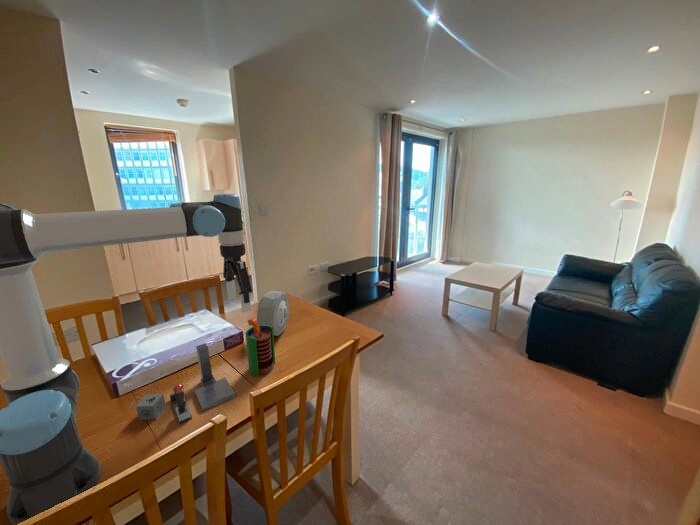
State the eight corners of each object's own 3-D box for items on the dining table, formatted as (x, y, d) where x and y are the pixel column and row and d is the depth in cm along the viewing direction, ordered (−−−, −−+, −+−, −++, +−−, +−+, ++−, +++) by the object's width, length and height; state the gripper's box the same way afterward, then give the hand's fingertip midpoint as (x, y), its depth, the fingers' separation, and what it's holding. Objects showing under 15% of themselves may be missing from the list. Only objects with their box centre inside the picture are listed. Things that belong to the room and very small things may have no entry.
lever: (179, 421, 86) (173, 390, 83) (176, 413, 89) (170, 383, 86) (190, 416, 88) (185, 385, 85) (187, 409, 91) (182, 378, 88)
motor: (266, 378, 106) (261, 328, 101) (243, 375, 108) (238, 325, 102) (278, 361, 116) (274, 315, 110) (257, 358, 117) (252, 313, 112)
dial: (280, 345, 127) (276, 302, 121) (254, 343, 129) (250, 300, 123) (295, 323, 146) (293, 285, 141) (273, 321, 148) (270, 284, 143)
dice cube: (156, 419, 88) (153, 406, 87) (139, 420, 88) (135, 406, 87) (166, 407, 93) (163, 394, 91) (150, 407, 93) (146, 394, 91)
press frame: (178, 424, 86) (170, 384, 82) (168, 394, 98) (161, 357, 95) (236, 398, 96) (231, 361, 93) (220, 373, 109) (215, 339, 105)
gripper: (259, 248, 87) (265, 314, 93) (231, 236, 106) (237, 291, 112) (233, 252, 83) (241, 321, 88) (208, 238, 101) (216, 296, 107)
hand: (239, 304), depth 100 cm, fingers open, 13 cm apart
